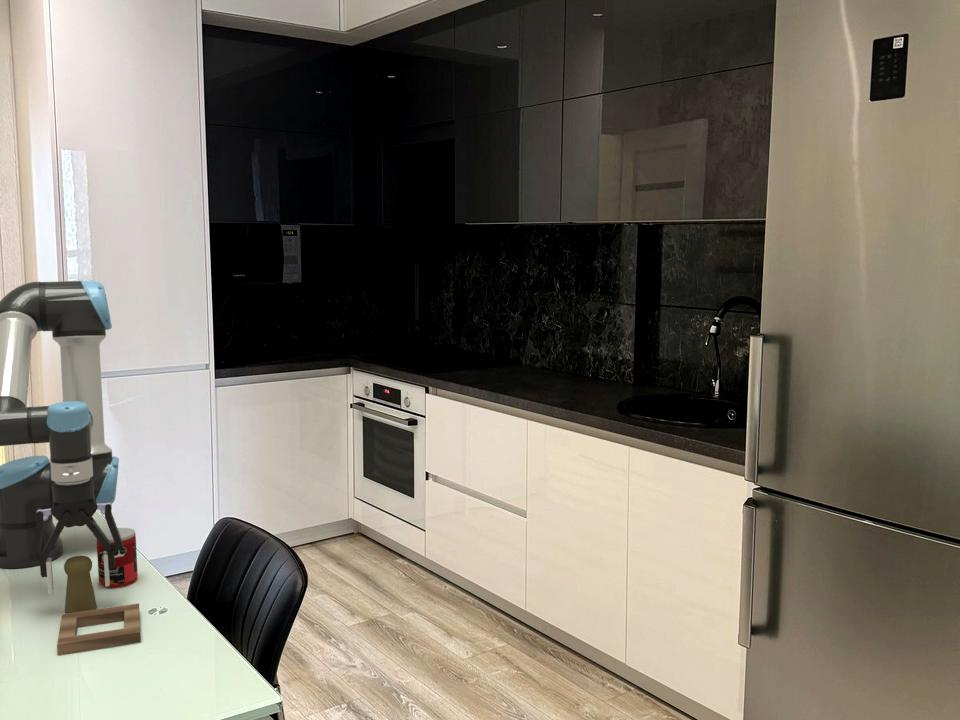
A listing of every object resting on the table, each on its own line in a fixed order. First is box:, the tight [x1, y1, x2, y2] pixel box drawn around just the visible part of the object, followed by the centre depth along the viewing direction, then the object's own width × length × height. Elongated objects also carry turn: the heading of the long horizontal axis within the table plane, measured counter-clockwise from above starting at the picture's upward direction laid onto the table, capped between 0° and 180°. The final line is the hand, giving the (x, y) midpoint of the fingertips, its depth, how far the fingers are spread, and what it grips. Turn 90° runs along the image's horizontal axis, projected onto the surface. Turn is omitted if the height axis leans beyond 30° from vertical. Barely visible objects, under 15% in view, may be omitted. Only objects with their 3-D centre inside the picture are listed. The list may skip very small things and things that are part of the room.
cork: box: [63, 555, 98, 614], centre depth 178 cm, size 6×6×11 cm
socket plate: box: [56, 603, 142, 656], centre depth 168 cm, size 14×14×2 cm
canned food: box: [95, 527, 139, 589], centre depth 192 cm, size 8×8×11 cm
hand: (79, 587), depth 178 cm, fingers open, 10 cm apart
